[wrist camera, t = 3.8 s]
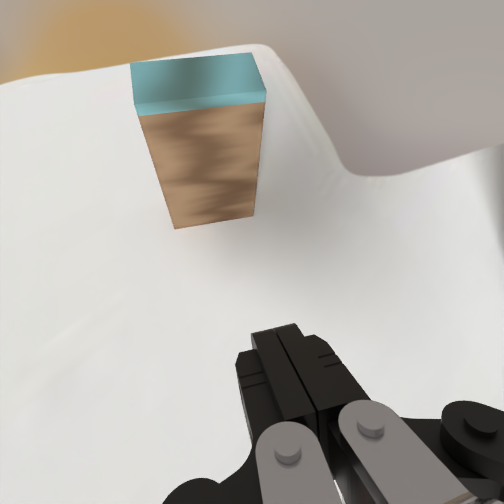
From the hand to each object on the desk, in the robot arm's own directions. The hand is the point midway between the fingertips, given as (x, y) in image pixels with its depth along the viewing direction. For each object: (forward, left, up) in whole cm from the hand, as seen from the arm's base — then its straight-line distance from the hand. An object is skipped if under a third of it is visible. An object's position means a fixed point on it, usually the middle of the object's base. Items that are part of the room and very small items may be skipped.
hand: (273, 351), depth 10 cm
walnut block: (0, -17, -16) cm, 24 cm away
